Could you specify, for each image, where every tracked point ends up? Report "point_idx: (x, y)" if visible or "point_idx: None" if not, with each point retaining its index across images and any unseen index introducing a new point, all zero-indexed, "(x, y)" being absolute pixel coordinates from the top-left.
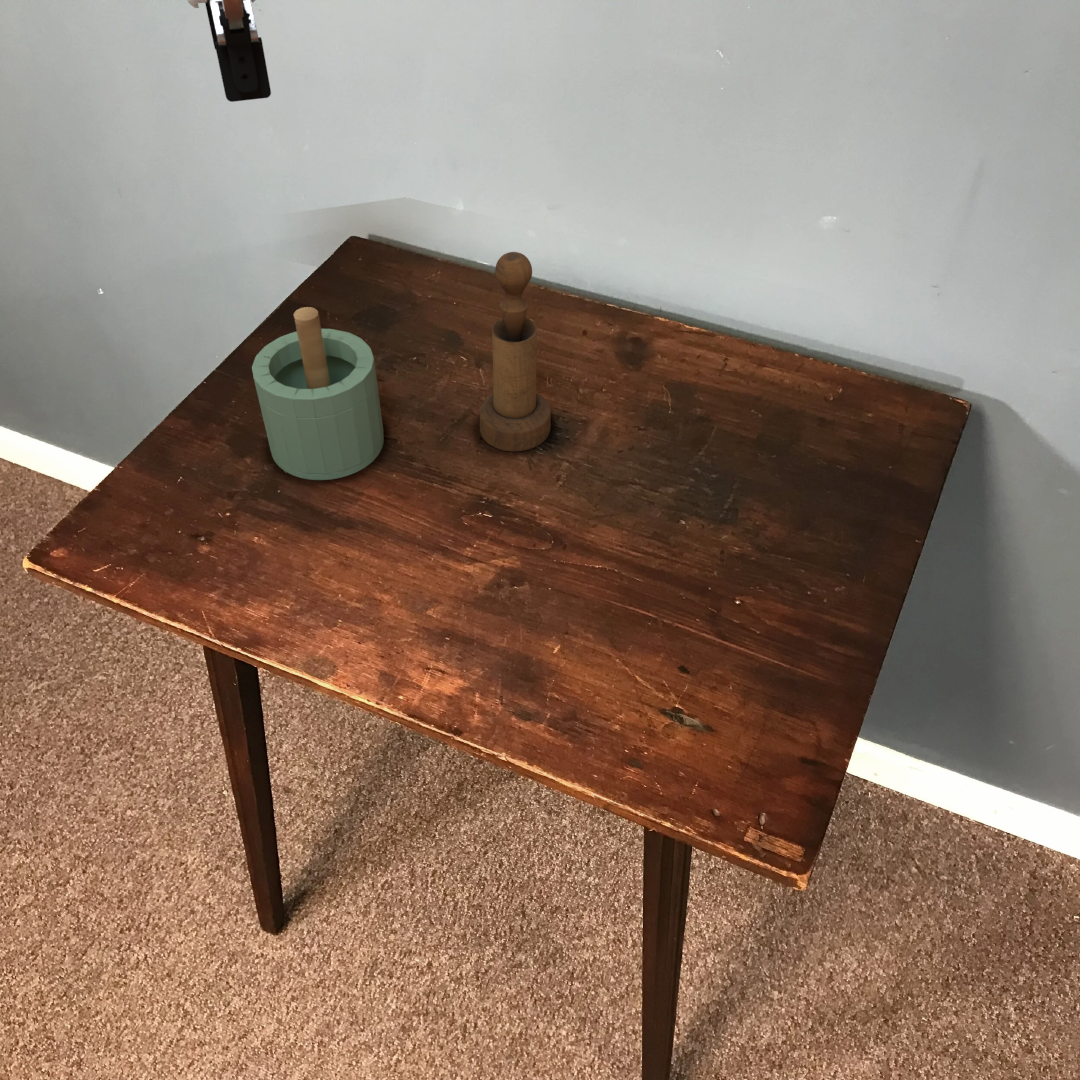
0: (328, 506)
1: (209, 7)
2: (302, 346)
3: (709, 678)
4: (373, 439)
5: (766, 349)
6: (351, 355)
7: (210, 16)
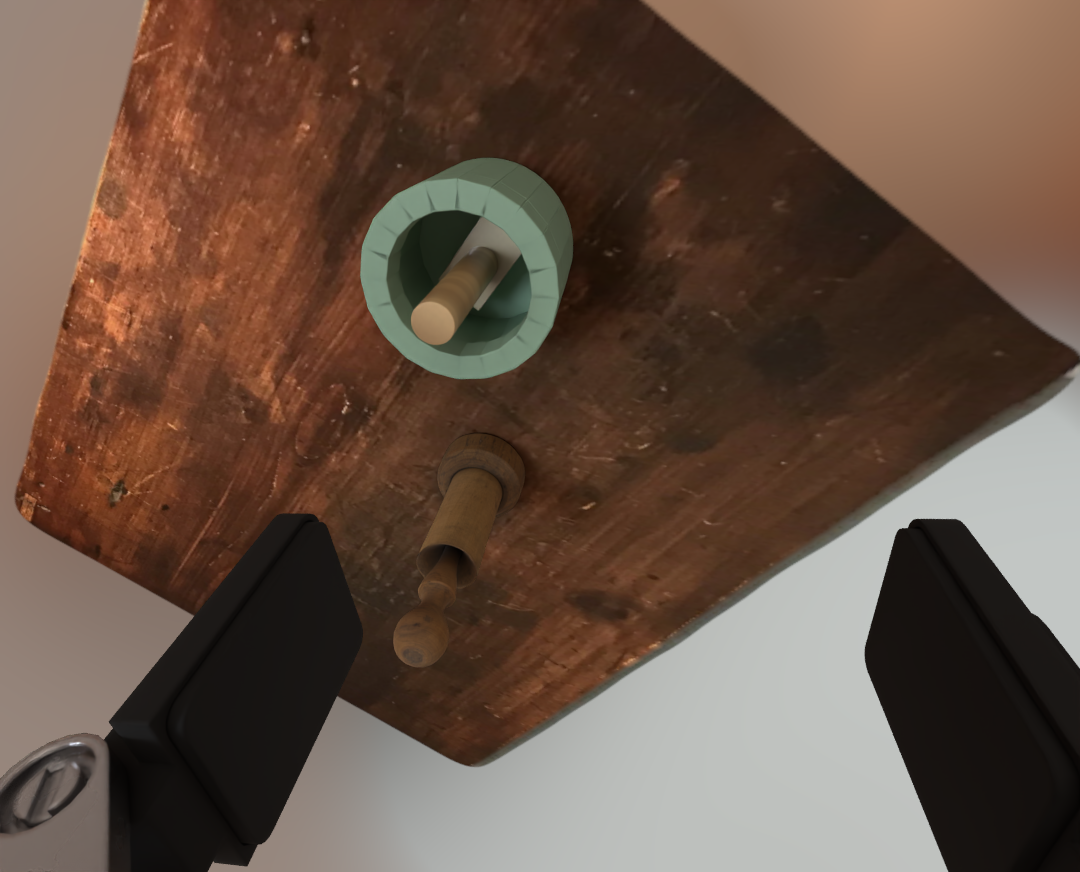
0: (365, 234)
1: (1023, 739)
2: (433, 288)
3: (159, 520)
4: None
5: (571, 697)
6: (498, 343)
7: (996, 677)
